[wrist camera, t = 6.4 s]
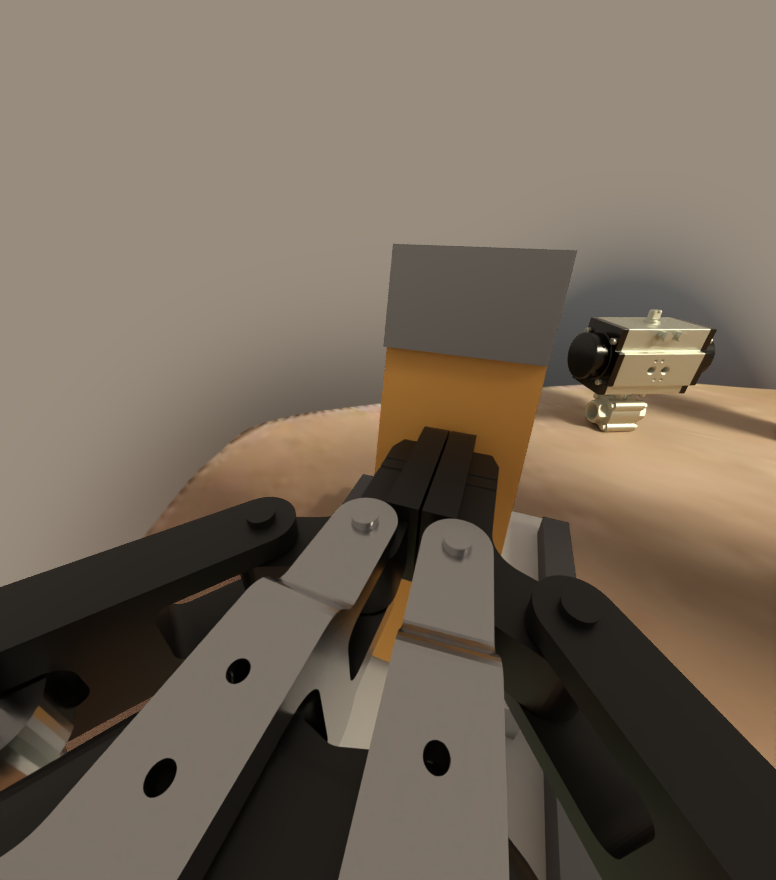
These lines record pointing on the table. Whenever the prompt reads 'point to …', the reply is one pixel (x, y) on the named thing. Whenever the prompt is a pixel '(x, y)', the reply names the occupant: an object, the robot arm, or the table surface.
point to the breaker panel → (520, 759)
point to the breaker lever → (469, 359)
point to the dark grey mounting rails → (565, 853)
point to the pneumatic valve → (637, 363)
